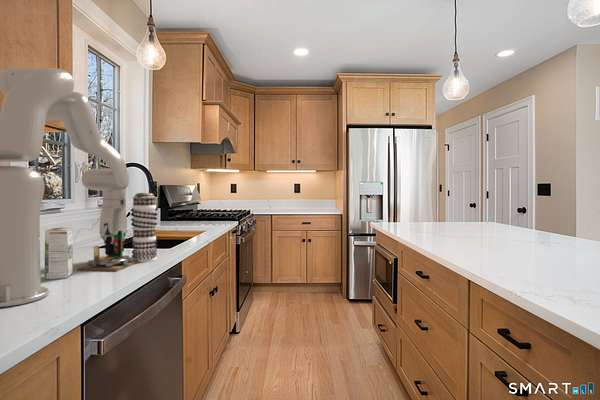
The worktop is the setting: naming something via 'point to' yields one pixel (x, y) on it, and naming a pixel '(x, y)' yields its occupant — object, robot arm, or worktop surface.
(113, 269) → the base board
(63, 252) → the syrup box
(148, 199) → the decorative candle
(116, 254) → the soda can
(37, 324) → the worktop surface
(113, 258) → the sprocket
